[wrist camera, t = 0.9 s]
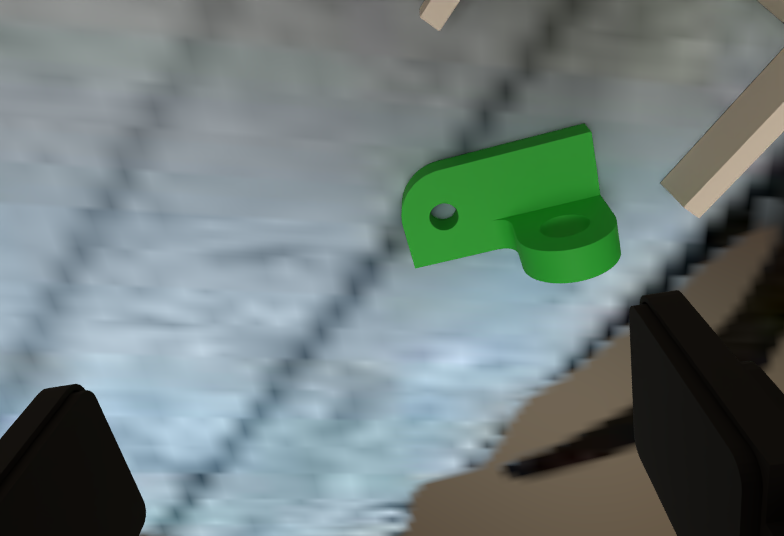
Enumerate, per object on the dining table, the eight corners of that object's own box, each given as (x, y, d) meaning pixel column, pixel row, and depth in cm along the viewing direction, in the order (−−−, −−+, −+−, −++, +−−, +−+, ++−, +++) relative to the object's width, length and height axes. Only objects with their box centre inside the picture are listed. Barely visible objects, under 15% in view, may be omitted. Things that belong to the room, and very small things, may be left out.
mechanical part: (583, 122, 39) (620, 164, 32) (596, 212, 42) (633, 269, 35) (391, 171, 41) (386, 222, 34) (415, 254, 44) (415, 317, 37)
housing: (557, -208, 32) (578, -227, 28) (828, 27, 36) (878, 39, 32) (419, 8, 36) (419, 18, 33) (674, 193, 41) (701, 221, 37)
